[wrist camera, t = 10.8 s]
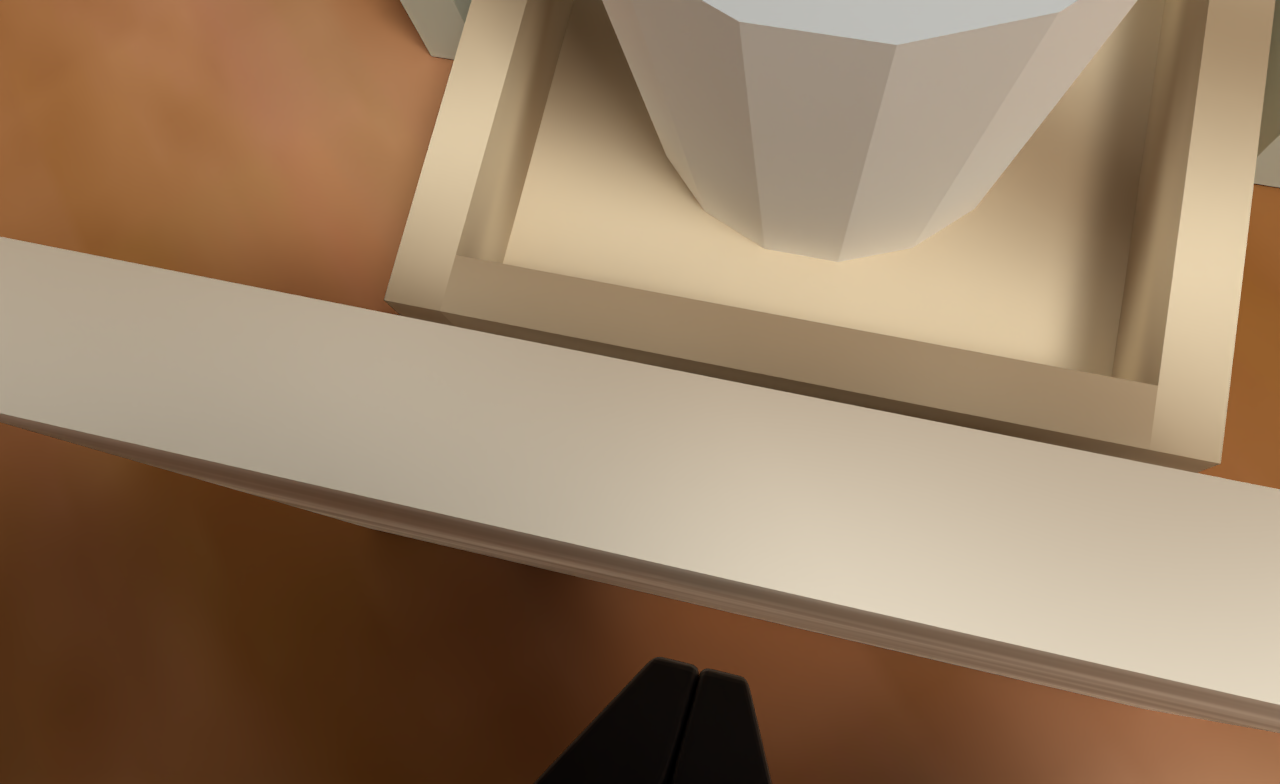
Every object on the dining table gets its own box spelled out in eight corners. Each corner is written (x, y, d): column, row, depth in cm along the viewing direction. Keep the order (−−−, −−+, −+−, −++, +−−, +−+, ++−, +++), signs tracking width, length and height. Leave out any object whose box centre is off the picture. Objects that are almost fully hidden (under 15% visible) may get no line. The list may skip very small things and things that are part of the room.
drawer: (1145, 709, 15) (1837, 832, 5) (369, 528, 17) (-151, 379, 7) (1248, -101, 18) (1832, -988, 8) (568, -179, 20) (383, -971, 10)
